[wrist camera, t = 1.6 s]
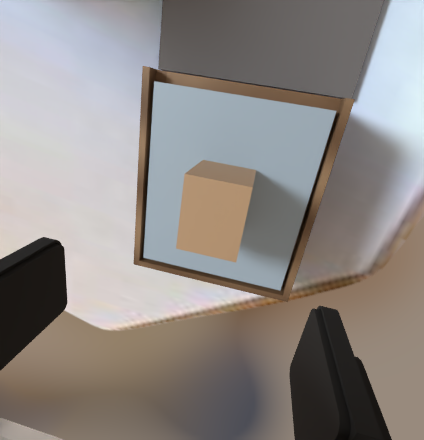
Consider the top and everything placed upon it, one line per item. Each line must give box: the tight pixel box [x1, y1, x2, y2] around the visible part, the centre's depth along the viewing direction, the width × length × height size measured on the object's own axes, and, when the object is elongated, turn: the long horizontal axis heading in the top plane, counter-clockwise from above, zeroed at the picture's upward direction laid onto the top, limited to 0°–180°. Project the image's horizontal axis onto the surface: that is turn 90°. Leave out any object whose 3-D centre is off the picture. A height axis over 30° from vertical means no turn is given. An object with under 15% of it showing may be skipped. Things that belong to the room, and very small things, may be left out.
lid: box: [143, 81, 336, 290], centre depth 19 cm, size 14×12×6 cm
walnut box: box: [134, 66, 355, 302], centre depth 24 cm, size 16×14×7 cm
